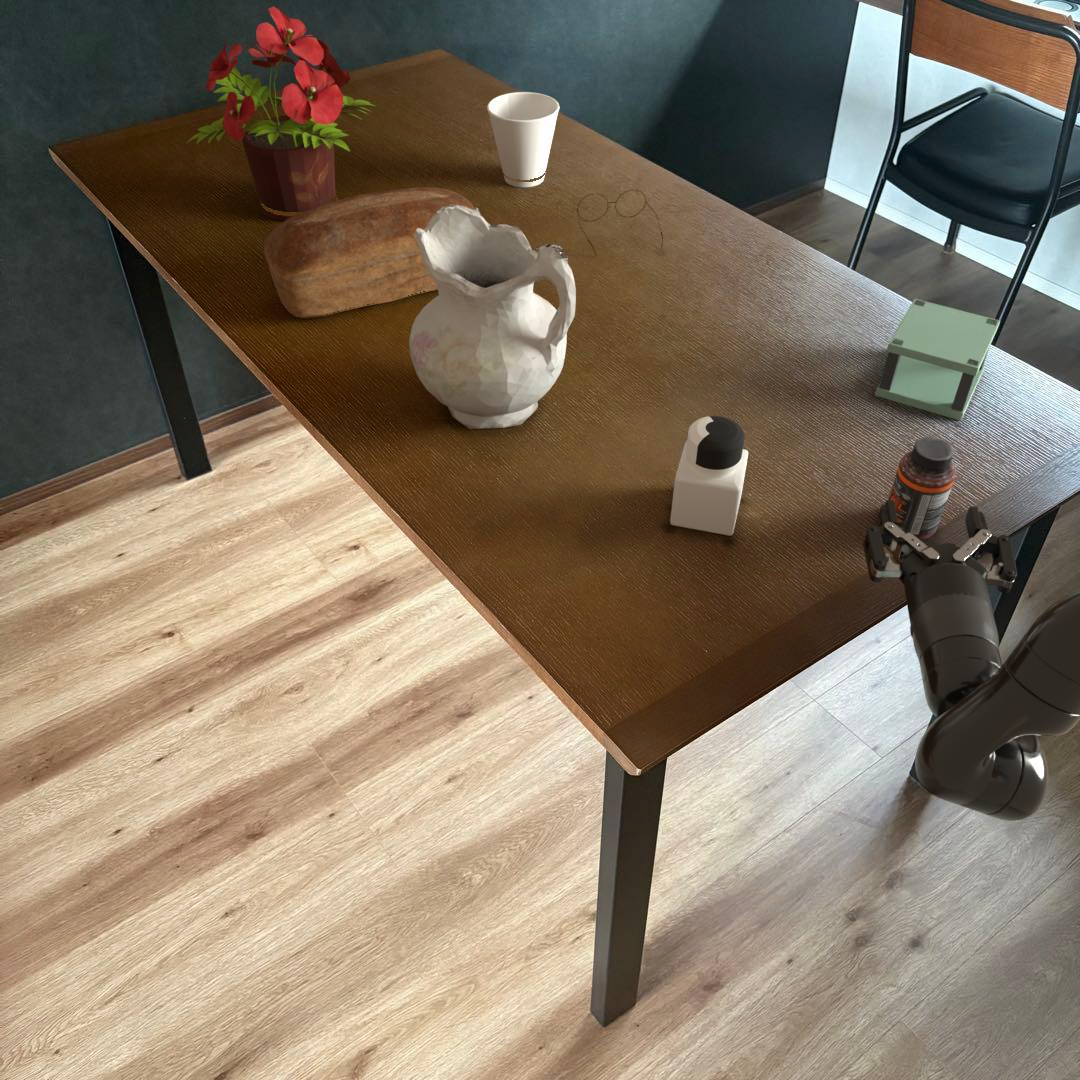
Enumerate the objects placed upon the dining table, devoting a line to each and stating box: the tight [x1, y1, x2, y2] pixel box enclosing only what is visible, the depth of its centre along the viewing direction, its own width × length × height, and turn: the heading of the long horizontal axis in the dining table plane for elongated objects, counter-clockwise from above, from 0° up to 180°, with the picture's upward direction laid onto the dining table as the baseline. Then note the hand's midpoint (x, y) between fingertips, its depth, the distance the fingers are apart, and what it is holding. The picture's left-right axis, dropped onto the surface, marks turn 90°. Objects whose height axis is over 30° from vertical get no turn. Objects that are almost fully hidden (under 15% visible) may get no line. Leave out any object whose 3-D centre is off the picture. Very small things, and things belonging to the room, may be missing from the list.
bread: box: [263, 186, 476, 320], centre depth 154 cm, size 12×31×14 cm, turn 114°
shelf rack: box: [874, 298, 1001, 421], centre depth 138 cm, size 11×12×8 cm
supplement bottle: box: [887, 436, 957, 541], centre depth 118 cm, size 6×6×11 cm
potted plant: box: [186, 6, 378, 222], centre depth 169 cm, size 30×27×30 cm
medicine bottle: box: [669, 415, 749, 537], centre depth 120 cm, size 7×7×12 cm
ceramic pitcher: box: [408, 204, 577, 430], centre depth 130 cm, size 22×20×25 cm
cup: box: [486, 91, 561, 188], centre depth 180 cm, size 12×12×12 cm
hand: (929, 509), depth 114 cm, fingers open, 8 cm apart
